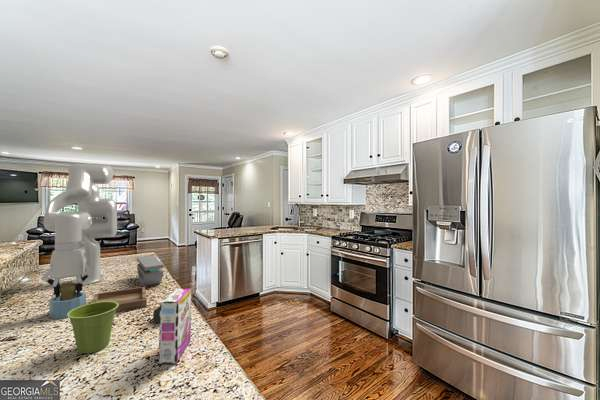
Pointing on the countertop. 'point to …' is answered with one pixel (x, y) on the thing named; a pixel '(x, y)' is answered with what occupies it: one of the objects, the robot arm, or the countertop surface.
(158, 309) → the smart speaker
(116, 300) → the tray
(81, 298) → the blue hollow cylinder
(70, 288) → the olive brown bulbous cylinder
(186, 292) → the candy bar box
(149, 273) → the grey lidded box
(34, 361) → the countertop surface
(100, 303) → the plant pot
